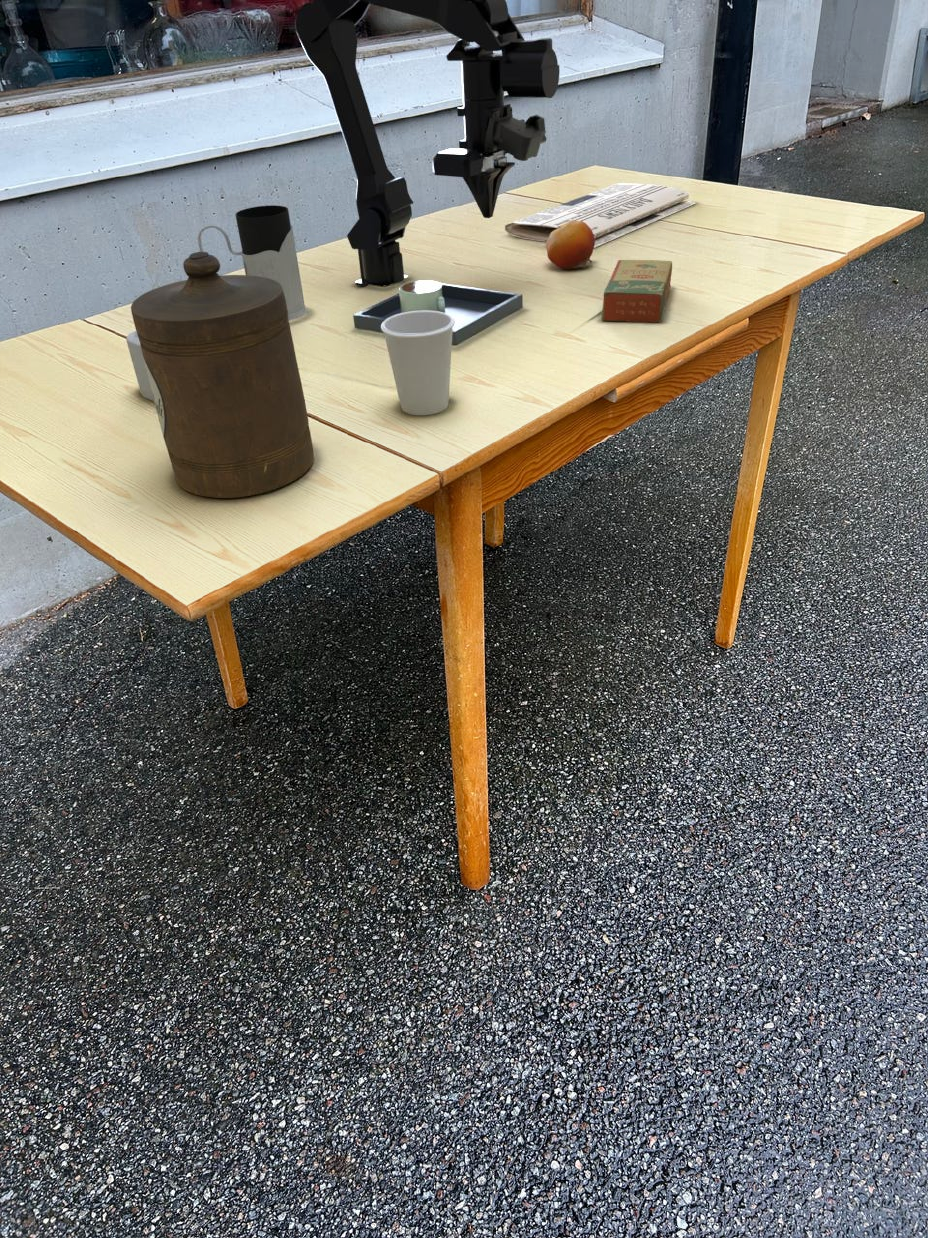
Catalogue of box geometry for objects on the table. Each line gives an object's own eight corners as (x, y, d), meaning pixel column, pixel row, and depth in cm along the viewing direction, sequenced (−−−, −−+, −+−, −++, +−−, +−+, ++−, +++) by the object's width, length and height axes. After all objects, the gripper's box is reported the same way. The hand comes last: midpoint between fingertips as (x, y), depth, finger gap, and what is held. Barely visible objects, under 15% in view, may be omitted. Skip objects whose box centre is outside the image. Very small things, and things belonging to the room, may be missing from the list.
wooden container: (218, 432, 107) (171, 232, 94) (335, 441, 103) (304, 234, 90) (147, 493, 96) (84, 275, 83) (277, 506, 92) (231, 279, 79)
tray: (355, 331, 133) (352, 314, 132) (426, 296, 145) (424, 280, 143) (456, 349, 125) (454, 331, 124) (523, 310, 136) (522, 294, 135)
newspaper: (612, 194, 194) (612, 180, 193) (696, 203, 184) (697, 188, 182) (505, 235, 172) (504, 219, 170) (593, 248, 162) (593, 231, 160)
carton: (671, 288, 141) (673, 259, 139) (661, 323, 129) (663, 292, 126) (616, 286, 143) (617, 257, 140) (601, 321, 131) (602, 290, 128)
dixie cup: (404, 425, 106) (395, 339, 100) (380, 400, 112) (370, 318, 106) (471, 410, 108) (466, 325, 102) (443, 386, 115) (437, 305, 109)
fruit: (603, 263, 149) (578, 218, 146) (561, 288, 152) (536, 245, 149) (607, 249, 155) (583, 205, 152) (567, 274, 159) (542, 232, 156)
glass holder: (307, 323, 137) (289, 215, 129) (211, 331, 137) (187, 224, 128) (310, 305, 144) (294, 202, 136) (219, 312, 144) (197, 209, 135)
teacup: (394, 328, 131) (390, 289, 128) (418, 316, 135) (415, 277, 132) (433, 335, 128) (430, 295, 125) (457, 322, 132) (455, 283, 129)
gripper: (497, 109, 118) (501, 237, 128) (567, 89, 131) (566, 207, 140) (426, 107, 124) (434, 230, 133) (500, 87, 136) (503, 201, 145)
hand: (488, 217), depth 138 cm, fingers closed
